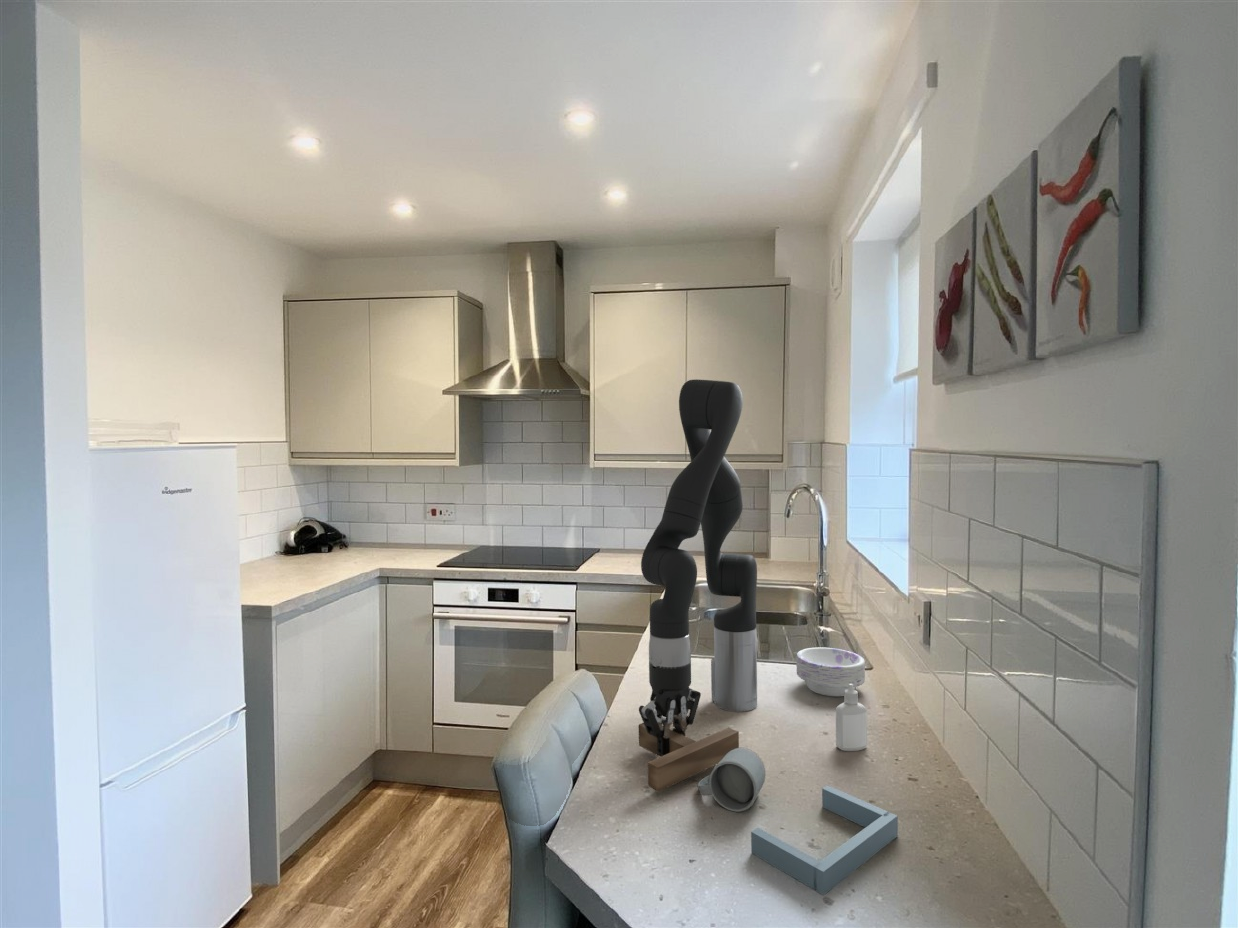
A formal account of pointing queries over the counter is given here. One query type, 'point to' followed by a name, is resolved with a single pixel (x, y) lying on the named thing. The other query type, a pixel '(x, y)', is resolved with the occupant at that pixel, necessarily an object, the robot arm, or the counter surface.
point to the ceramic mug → (735, 780)
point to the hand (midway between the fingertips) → (671, 752)
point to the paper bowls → (830, 670)
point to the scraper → (685, 755)
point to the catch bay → (840, 861)
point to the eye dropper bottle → (851, 722)
